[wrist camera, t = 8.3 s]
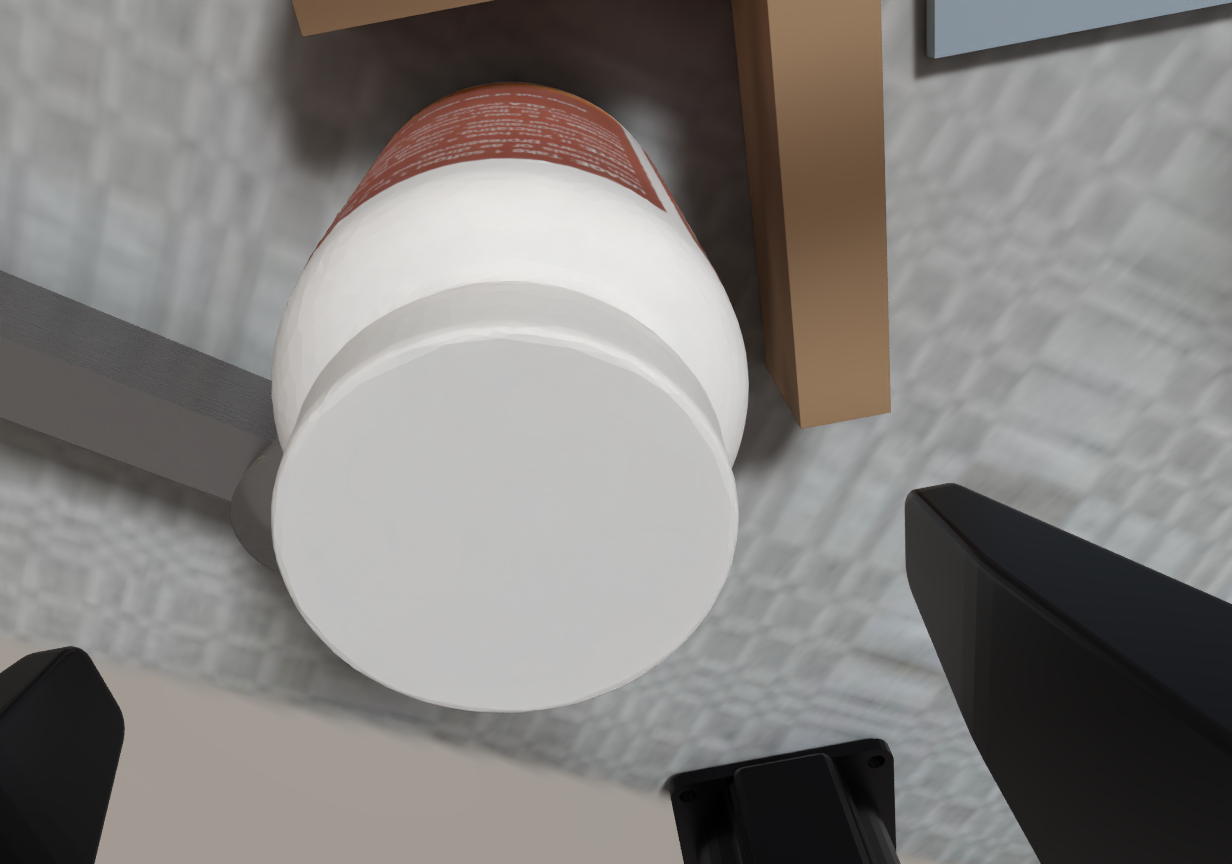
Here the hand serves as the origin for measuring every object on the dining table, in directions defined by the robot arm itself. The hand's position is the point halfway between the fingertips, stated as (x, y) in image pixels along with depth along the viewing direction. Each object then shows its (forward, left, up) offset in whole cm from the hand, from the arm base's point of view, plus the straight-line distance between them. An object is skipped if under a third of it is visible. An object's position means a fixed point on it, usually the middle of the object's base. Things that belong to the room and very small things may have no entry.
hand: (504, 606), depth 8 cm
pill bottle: (0, 0, -12) cm, 12 cm away
